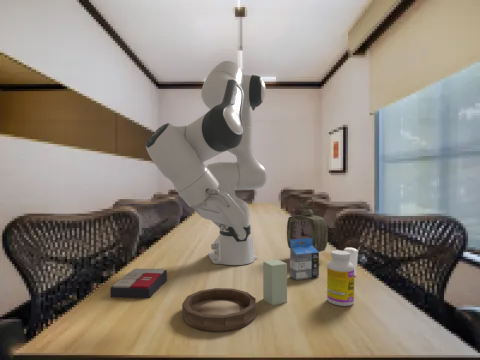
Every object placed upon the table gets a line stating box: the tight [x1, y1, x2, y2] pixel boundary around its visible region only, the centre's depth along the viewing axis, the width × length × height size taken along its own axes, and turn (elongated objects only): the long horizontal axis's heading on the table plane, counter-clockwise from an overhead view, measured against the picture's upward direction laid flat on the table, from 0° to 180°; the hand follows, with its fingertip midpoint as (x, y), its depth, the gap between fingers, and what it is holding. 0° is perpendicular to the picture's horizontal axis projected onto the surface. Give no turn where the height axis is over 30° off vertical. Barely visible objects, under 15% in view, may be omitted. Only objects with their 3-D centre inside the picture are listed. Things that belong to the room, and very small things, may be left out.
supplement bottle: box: [326, 249, 355, 307], centre depth 76 cm, size 7×7×13 cm
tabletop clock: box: [286, 197, 329, 253], centre depth 118 cm, size 14×9×25 cm, turn 38°
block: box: [262, 259, 288, 306], centre depth 77 cm, size 4×4×10 cm
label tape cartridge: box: [289, 238, 320, 281], centre depth 96 cm, size 9×4×12 cm, turn 112°
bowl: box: [181, 287, 257, 333], centre depth 69 cm, size 17×17×3 cm
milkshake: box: [343, 245, 361, 277], centre depth 98 cm, size 4×5×10 cm
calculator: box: [109, 268, 168, 299], centre depth 86 cm, size 11×4×15 cm
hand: (233, 232), depth 72 cm, fingers open, 8 cm apart
